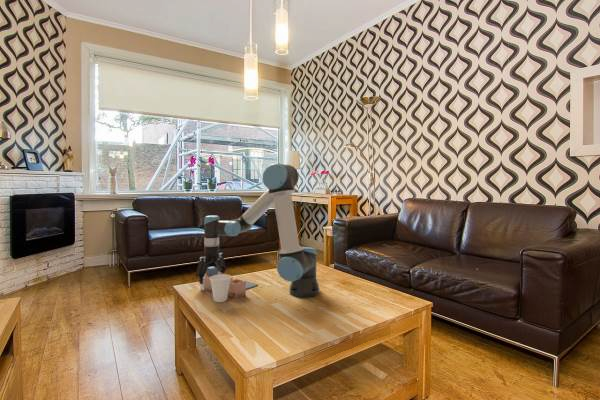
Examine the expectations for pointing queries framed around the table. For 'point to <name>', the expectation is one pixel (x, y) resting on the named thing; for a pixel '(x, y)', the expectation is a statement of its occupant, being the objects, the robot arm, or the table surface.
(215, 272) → the blue rectangular block
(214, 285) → the cup
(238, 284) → the pot
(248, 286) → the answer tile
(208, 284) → the pot
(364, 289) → the table surface
